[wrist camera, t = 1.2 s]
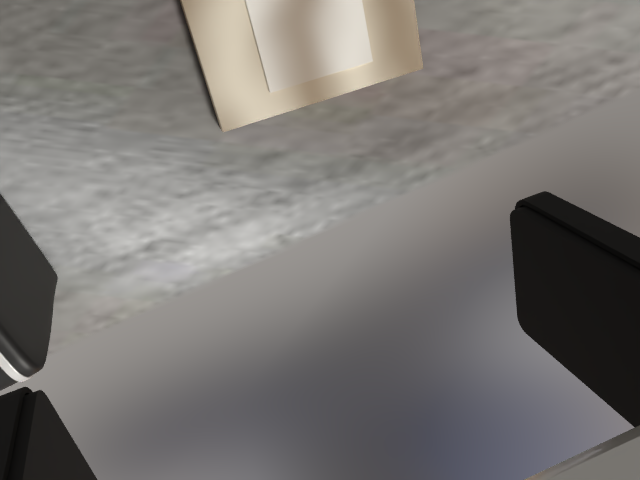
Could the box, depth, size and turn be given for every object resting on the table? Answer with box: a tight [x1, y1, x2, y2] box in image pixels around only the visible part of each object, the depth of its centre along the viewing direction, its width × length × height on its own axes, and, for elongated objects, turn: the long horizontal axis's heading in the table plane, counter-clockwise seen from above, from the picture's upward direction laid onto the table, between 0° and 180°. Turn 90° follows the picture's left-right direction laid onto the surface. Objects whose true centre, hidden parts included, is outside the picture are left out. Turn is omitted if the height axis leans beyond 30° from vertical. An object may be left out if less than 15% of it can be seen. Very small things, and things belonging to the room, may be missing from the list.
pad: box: [180, 0, 423, 132], centre depth 35 cm, size 14×12×1 cm
